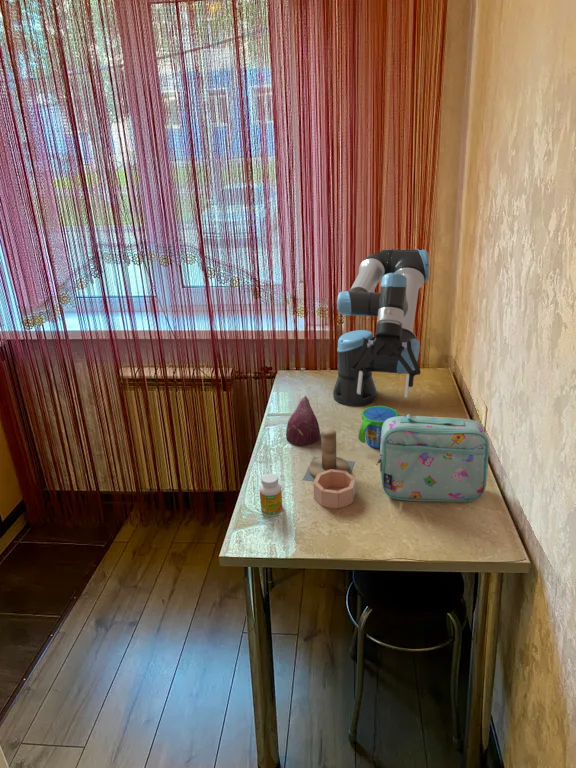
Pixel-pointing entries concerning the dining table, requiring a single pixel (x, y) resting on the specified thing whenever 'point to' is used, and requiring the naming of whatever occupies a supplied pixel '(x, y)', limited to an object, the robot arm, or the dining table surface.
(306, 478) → the mat
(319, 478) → the bowl
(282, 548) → the dining table surface
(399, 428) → the lunch box
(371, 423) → the snack cup
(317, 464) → the paper towel holder
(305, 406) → the vegetable
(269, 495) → the supplement bottle
